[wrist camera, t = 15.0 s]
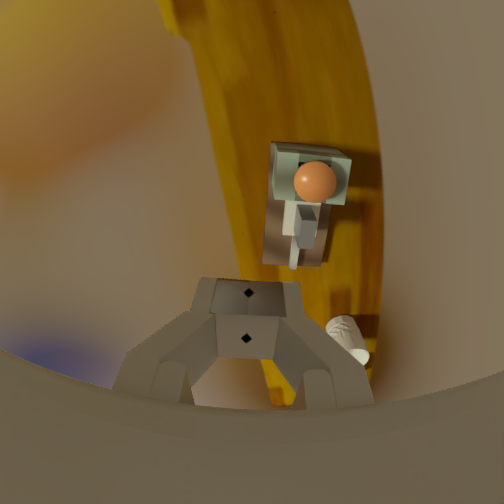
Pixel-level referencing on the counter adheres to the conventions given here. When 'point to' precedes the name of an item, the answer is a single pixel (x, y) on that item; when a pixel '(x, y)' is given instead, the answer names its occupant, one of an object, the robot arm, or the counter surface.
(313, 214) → the carriage
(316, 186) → the button
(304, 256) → the rail bed
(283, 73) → the counter surface
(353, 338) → the white cup
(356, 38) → the counter surface
